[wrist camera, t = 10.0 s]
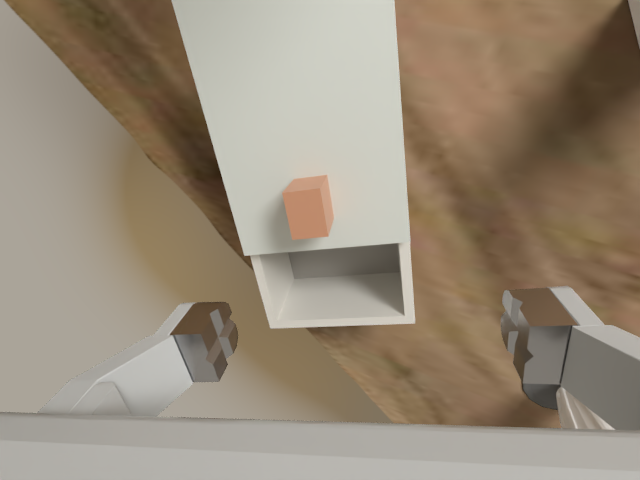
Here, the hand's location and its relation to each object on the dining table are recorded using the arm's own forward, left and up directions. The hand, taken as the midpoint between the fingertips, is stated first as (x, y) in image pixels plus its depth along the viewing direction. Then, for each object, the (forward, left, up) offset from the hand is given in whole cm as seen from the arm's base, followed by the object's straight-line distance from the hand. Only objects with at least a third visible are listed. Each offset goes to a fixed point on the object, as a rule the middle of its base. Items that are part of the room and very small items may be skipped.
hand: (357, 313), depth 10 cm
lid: (-3, -5, -21) cm, 22 cm away
